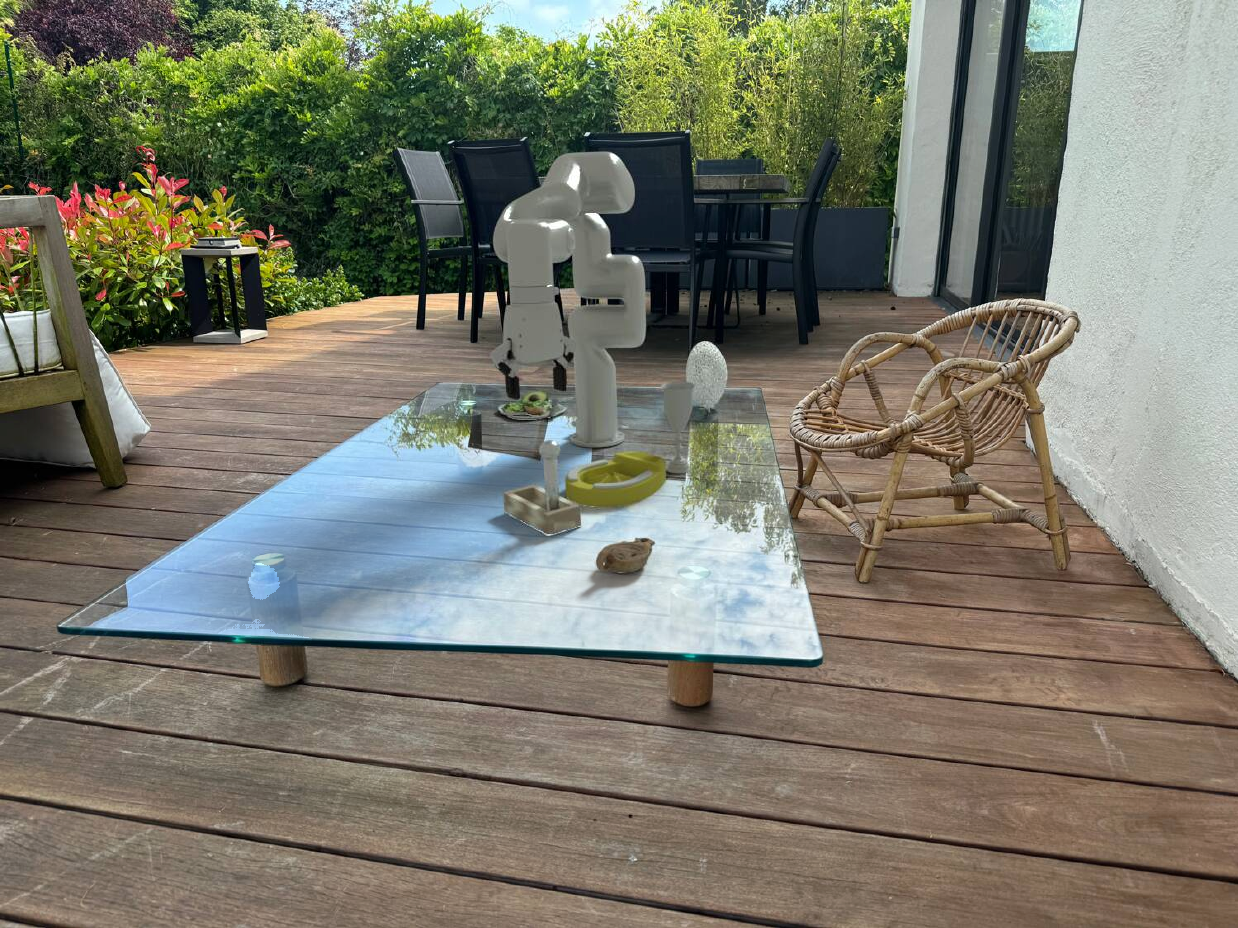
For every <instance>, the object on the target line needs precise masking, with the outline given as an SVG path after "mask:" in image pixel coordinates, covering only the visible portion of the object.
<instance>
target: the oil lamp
mask: <svg viewBox="0 0 1238 928" xmlns="http://www.w3.org/2000/svg"><path fill="white" fill-rule="evenodd" d="M655 544H656V541H654V540H652V539H650V538H649V537H635V538H634V541H626V540H624V541H621V542H616V543H610V544H609V545H606V546H604V547H603V548H602V549H601V550H600V551H599V552H598V554H597V557H596V558H595V559H596V560H595V567H596V569H598V570H599V571H601V572H605V573H607V572H609V571H611V570H612V572H613V571H615V572H614V573H616V572H631V573H634V572H637V570H638V571H640V570H641V569H643V567H645V565H647V562H648V560H649V558H650V556H651V554H652V553H653V546H654V545H655ZM639 569H640V570H639ZM633 571H634V572H633Z"/></svg>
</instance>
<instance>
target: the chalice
mask: <svg viewBox="0 0 1238 928" xmlns="http://www.w3.org/2000/svg"><path fill="white" fill-rule="evenodd" d="M660 386H661V388H662V390H663V410H664V413H665V416H666V419H667V421H668V422H669V426H670V427H671V429H673V430H675V433H676V434H675V438H674V440H675V446H674V449H675V451H676V453H675V456H674V457H672V458H671V459H670V460H669V464H668V467H666V472H668V473H672V474H686V473H689V472H691V467H690V464H689V463H688V460H687V458H685V457H683V456H682V454H681V452H682V449H683V447H684V446H682V440H683V437H682V434H681V433H682V430H683V429H685V428H686V426H687V424H688V422H689V420H690V418H691V415H692V411H693V398H692V393H693V388H694V386H695V385H694V384H693V383H690V382H687V381H669V382H665V383H663V384H661V385H660Z"/></svg>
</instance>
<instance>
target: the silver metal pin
mask: <svg viewBox="0 0 1238 928" xmlns="http://www.w3.org/2000/svg"><path fill="white" fill-rule="evenodd" d="M538 451H539V455H540V457H541V459H543V460H542V461H543V474H544V475H543V476H544V477H543V478H544V489H545V496H546V510H547V511H549V512H550V511H553V510H557V509H560V500H559V496H560V487H559V486H560V483H559V467H558V466H559V465H558V458H559V456H560V455H561V447H560V445H559V443H558V442H556V441H555V440H553V439H547V440H544V441H543V442H542V443H541V444H540V445H539V449H538Z"/></svg>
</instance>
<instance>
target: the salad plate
mask: <svg viewBox="0 0 1238 928" xmlns="http://www.w3.org/2000/svg"><path fill="white" fill-rule="evenodd" d="M549 398H550V397H549V395H548V394H547V393H546V392H545V391H544V390H534V391H531V392H527V393H525V394H524V395H523V396H522V397H521V400H520V402H511V401H509V402H508V403H505V404H504V403H503V404H501V405H499V406H498V407H497V411H499V412H502V413H503V414H505V413H504V412H507V413H516V412H517V413H518V412H527V413H528V414H531V415H539V416H533V417H530V416H521V415H520V416H511V415H507V414H505V415H506V416H510V417H512V418H515V419H539V418H548V417H553V418H555V417H557V416H559V415H561V414H563V413H564V412H566V410H567V407H565V406H564V405H562V404H559V399H557V398H552V399H549ZM504 408H505V410H504ZM503 410H504V411H503ZM499 412H498V413H499ZM554 416H555V417H554Z"/></svg>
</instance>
